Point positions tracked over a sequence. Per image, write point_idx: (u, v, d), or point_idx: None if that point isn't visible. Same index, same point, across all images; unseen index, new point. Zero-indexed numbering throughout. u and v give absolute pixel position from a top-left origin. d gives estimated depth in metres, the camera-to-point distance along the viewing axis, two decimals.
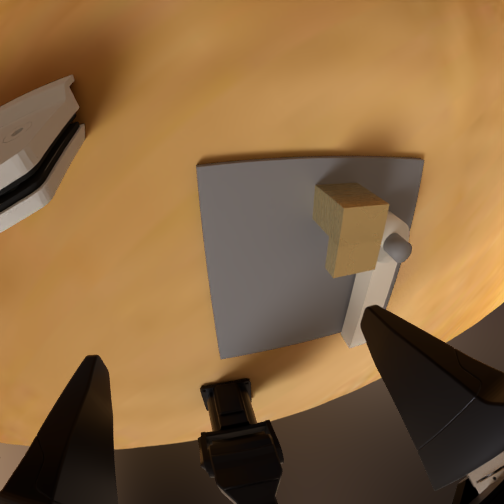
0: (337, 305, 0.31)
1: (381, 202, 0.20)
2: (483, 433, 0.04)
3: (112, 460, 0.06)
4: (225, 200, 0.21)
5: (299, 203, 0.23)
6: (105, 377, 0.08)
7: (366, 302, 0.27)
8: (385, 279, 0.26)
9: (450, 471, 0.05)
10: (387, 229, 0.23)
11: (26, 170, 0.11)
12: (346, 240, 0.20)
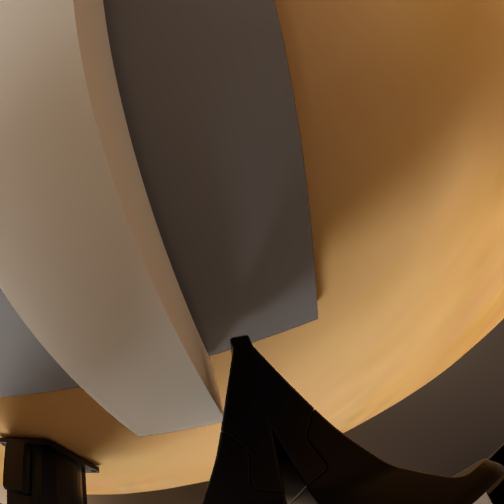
0: None
1: None
2: None
3: None
4: None
5: None
6: None
7: None
8: (15, 70, 0.02)
9: None
10: None
11: None
12: None
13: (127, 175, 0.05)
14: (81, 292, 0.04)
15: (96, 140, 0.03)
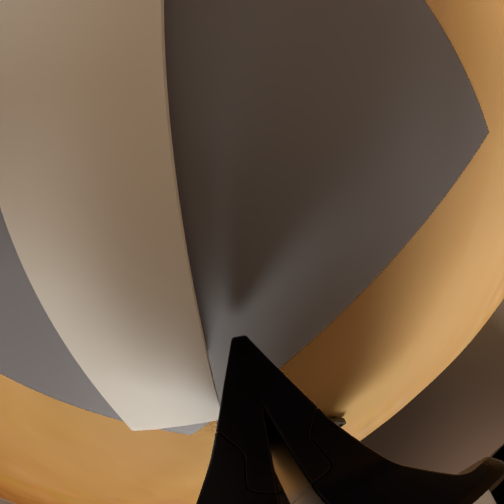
0: (304, 192, 0.08)
1: None
2: None
3: None
4: None
5: None
6: None
7: (17, 224, 0.03)
8: (87, 37, 0.03)
9: None
10: None
11: None
12: None
13: (173, 166, 0.05)
14: (113, 275, 0.04)
15: (162, 126, 0.04)
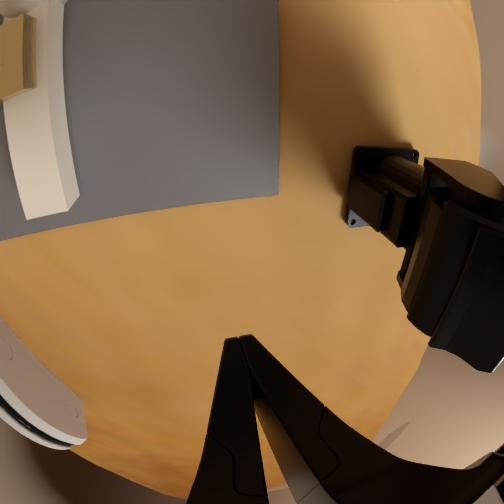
0: None
1: None
2: None
3: None
4: (15, 210, 0.15)
5: None
6: None
7: None
8: None
9: None
10: None
11: None
12: None
13: (54, 78, 0.10)
14: (28, 110, 0.10)
15: (45, 64, 0.09)
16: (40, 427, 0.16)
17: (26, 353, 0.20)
